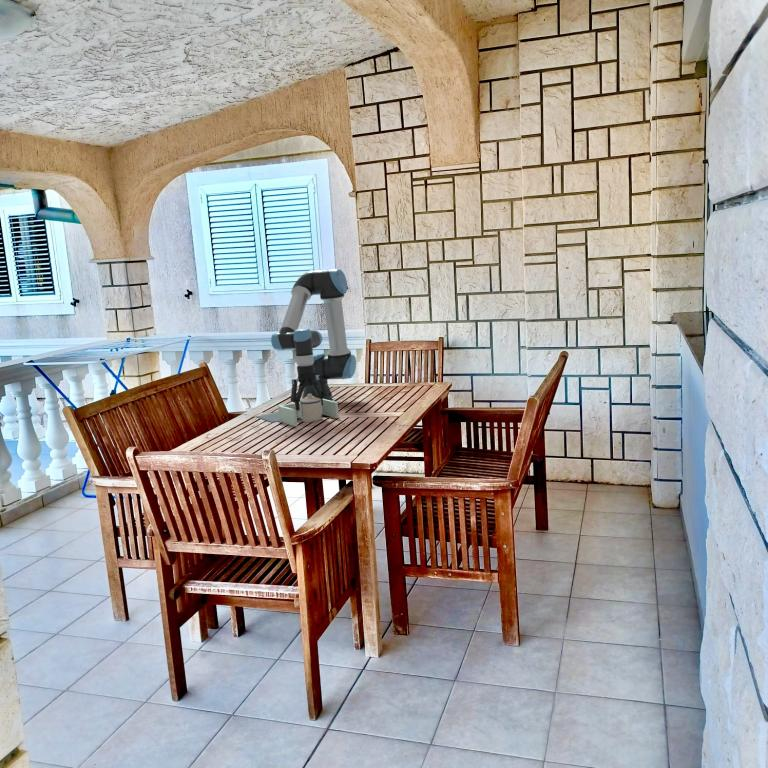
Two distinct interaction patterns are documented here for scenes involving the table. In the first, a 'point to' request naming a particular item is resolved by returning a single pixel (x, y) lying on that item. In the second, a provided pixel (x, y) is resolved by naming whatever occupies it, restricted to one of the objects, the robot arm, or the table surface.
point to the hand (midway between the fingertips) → (310, 415)
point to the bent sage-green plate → (290, 417)
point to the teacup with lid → (310, 409)
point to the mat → (270, 417)
